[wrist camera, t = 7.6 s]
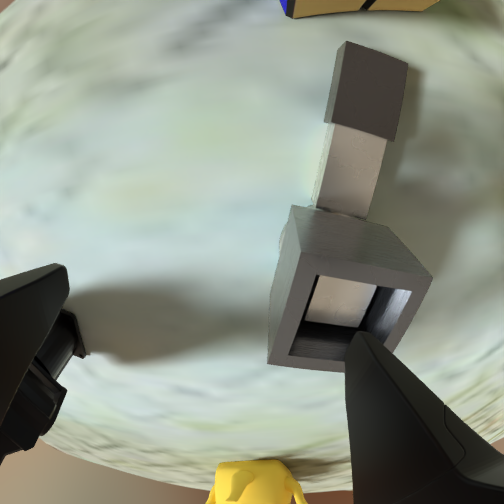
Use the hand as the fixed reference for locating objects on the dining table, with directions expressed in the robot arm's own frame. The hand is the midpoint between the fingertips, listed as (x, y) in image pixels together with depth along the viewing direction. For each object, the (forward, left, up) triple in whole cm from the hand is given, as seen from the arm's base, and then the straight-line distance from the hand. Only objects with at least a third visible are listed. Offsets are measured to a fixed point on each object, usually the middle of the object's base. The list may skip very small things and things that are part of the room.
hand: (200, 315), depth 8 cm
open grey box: (-2, -6, -9) cm, 11 cm away
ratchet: (+3, -6, -12) cm, 13 cm away
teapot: (-43, -9, -12) cm, 46 cm away
